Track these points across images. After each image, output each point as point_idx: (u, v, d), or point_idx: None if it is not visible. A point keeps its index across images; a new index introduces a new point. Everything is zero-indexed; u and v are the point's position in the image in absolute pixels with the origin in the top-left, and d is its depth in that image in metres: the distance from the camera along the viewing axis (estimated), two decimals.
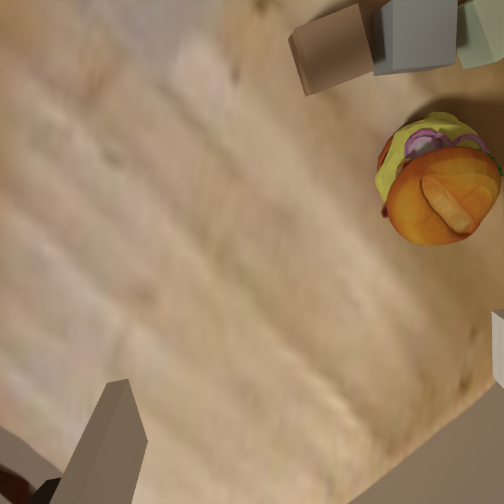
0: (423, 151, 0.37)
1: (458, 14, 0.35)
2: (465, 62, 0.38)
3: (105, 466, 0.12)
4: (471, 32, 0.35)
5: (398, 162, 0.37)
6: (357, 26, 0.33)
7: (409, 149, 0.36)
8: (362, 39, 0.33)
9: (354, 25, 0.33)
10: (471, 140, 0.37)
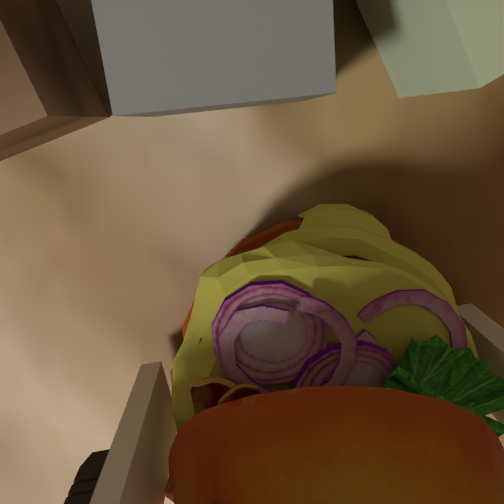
0: (269, 343, 0.12)
1: None
2: (399, 80, 0.13)
3: (147, 440, 0.13)
4: None
5: (202, 367, 0.12)
6: None
7: (224, 339, 0.12)
8: None
9: None
10: (417, 305, 0.12)
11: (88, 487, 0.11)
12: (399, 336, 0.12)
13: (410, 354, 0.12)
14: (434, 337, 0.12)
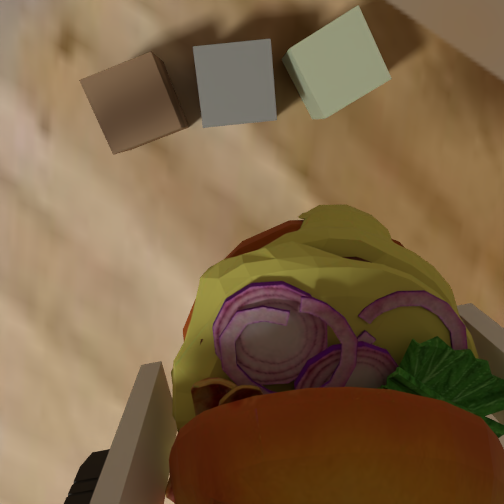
0: (270, 343, 0.12)
1: (288, 60, 0.30)
2: (310, 112, 0.33)
3: (147, 439, 0.13)
4: (300, 81, 0.30)
5: (203, 368, 0.13)
6: (153, 78, 0.28)
7: (225, 340, 0.12)
8: (161, 93, 0.28)
9: (150, 77, 0.28)
10: (417, 306, 0.12)
11: (88, 487, 0.11)
12: (399, 337, 0.12)
13: (410, 355, 0.12)
14: (434, 338, 0.12)
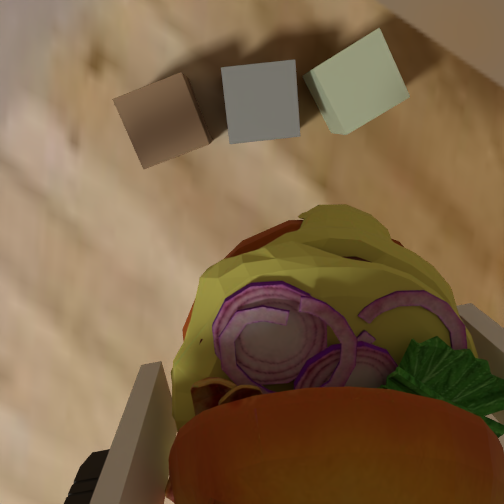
0: (269, 343, 0.12)
1: (310, 78, 0.31)
2: (329, 126, 0.34)
3: (147, 440, 0.13)
4: (322, 98, 0.31)
5: (202, 367, 0.13)
6: (183, 97, 0.29)
7: (224, 340, 0.12)
8: (190, 111, 0.29)
9: (180, 96, 0.29)
10: (417, 306, 0.12)
11: (88, 487, 0.11)
12: (399, 337, 0.12)
13: (410, 355, 0.12)
14: (434, 338, 0.12)
